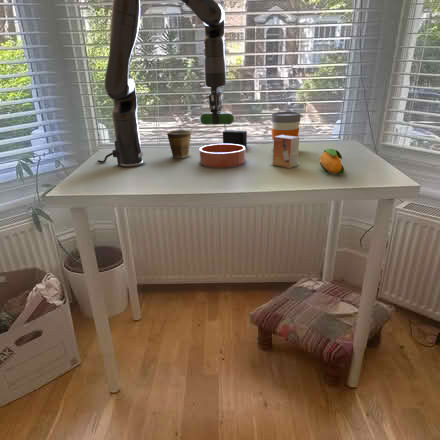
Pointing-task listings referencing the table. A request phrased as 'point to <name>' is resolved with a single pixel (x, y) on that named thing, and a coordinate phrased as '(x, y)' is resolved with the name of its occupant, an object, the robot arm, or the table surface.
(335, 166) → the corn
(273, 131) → the reusable coffee cup
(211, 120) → the cucumber
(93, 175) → the table surface
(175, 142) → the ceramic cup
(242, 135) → the digital camera
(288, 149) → the small box
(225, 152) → the bowl
